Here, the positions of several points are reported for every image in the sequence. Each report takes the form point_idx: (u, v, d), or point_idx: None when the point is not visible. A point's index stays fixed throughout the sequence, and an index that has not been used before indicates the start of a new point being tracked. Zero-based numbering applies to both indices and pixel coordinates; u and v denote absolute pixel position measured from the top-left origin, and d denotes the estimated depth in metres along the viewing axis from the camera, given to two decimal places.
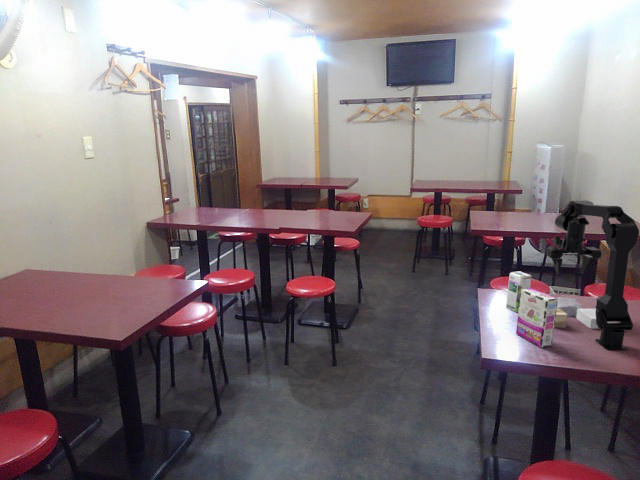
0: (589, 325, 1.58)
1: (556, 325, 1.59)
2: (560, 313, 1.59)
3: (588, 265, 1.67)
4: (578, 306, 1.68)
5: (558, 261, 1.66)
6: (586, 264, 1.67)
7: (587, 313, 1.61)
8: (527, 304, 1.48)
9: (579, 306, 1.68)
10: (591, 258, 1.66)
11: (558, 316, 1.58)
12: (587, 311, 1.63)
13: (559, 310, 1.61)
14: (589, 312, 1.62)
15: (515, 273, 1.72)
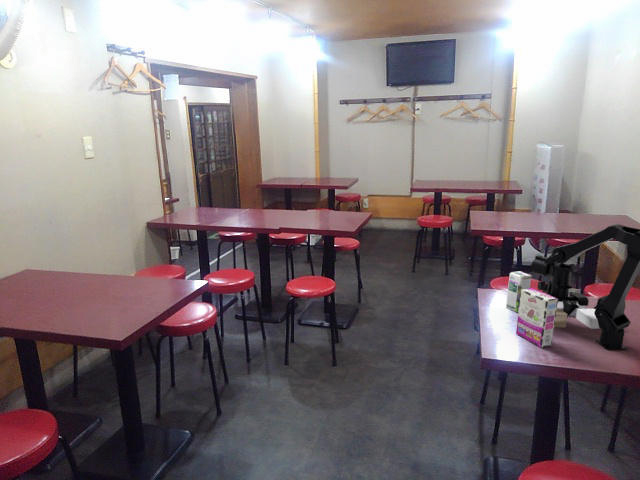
0: (590, 325, 1.58)
1: (556, 325, 1.59)
2: (560, 312, 1.59)
3: (569, 313, 1.58)
4: (582, 306, 1.67)
5: None
6: (567, 311, 1.59)
7: (587, 314, 1.61)
8: (527, 304, 1.48)
9: (582, 306, 1.67)
10: (572, 306, 1.57)
11: (558, 316, 1.58)
12: (587, 311, 1.63)
13: (559, 310, 1.61)
14: (589, 312, 1.62)
15: (515, 273, 1.72)
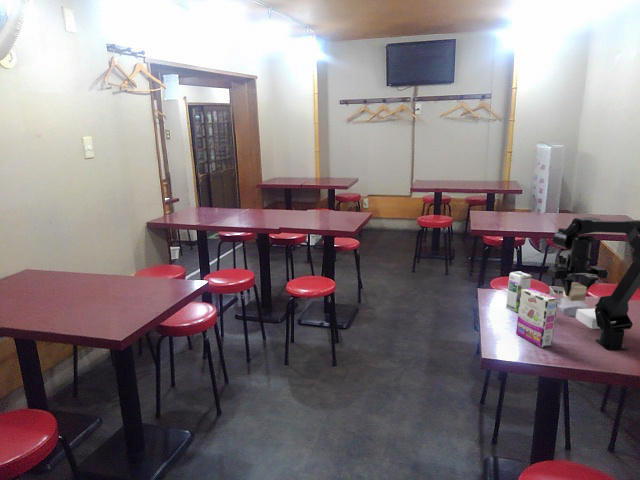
0: (590, 325, 1.58)
1: (575, 298, 1.57)
2: (579, 286, 1.57)
3: (588, 286, 1.56)
4: (585, 306, 1.67)
5: (568, 282, 1.55)
6: (586, 285, 1.57)
7: (587, 314, 1.61)
8: (527, 304, 1.48)
9: (585, 306, 1.67)
10: (591, 278, 1.55)
11: (578, 289, 1.56)
12: (587, 312, 1.63)
13: (578, 283, 1.59)
14: (589, 312, 1.62)
15: (515, 273, 1.72)
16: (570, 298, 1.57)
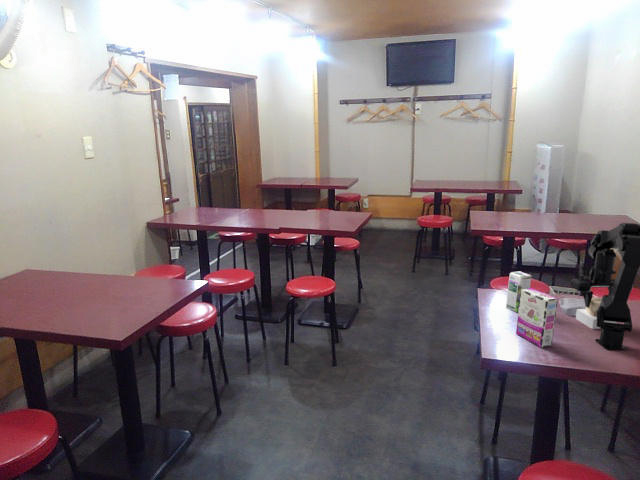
0: (591, 326, 1.58)
1: None
2: None
3: None
4: None
5: (588, 294, 1.57)
6: None
7: (587, 314, 1.61)
8: (527, 304, 1.48)
9: None
10: None
11: None
12: (587, 312, 1.62)
13: (600, 299, 1.61)
14: None
15: (515, 273, 1.72)
16: (593, 314, 1.59)
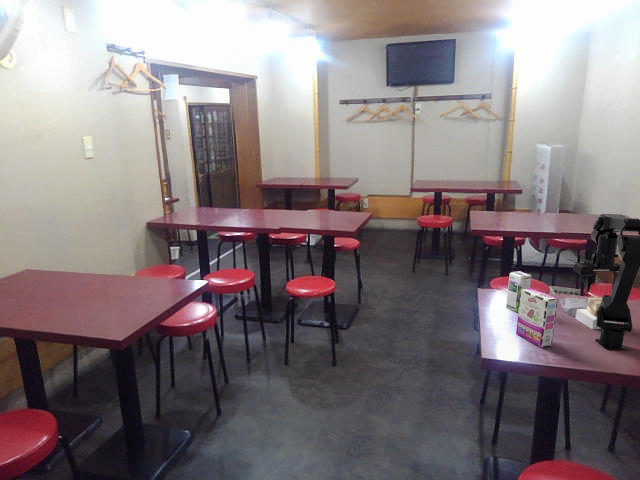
0: (591, 326, 1.58)
1: None
2: None
3: None
4: None
5: (588, 278, 1.55)
6: None
7: (587, 314, 1.60)
8: (527, 304, 1.48)
9: None
10: None
11: None
12: (587, 312, 1.62)
13: (601, 299, 1.61)
14: None
15: (515, 273, 1.72)
16: (594, 314, 1.59)
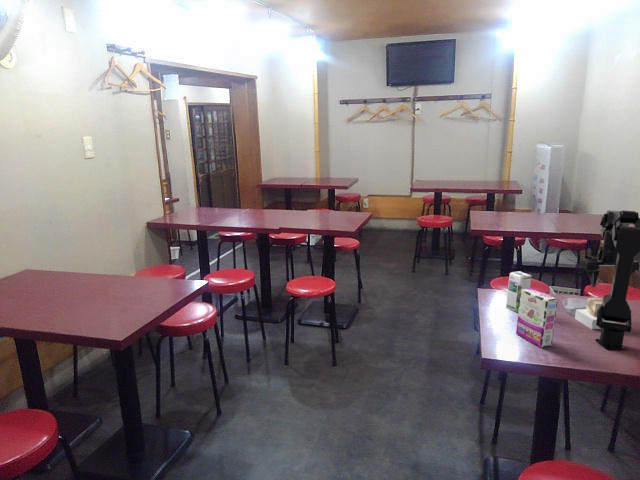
0: (590, 326, 1.58)
1: None
2: None
3: None
4: None
5: (594, 273, 1.60)
6: None
7: (587, 314, 1.60)
8: (527, 304, 1.48)
9: None
10: None
11: (601, 305, 1.58)
12: (586, 312, 1.62)
13: (601, 299, 1.61)
14: None
15: (515, 273, 1.72)
16: (593, 314, 1.59)
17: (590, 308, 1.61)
